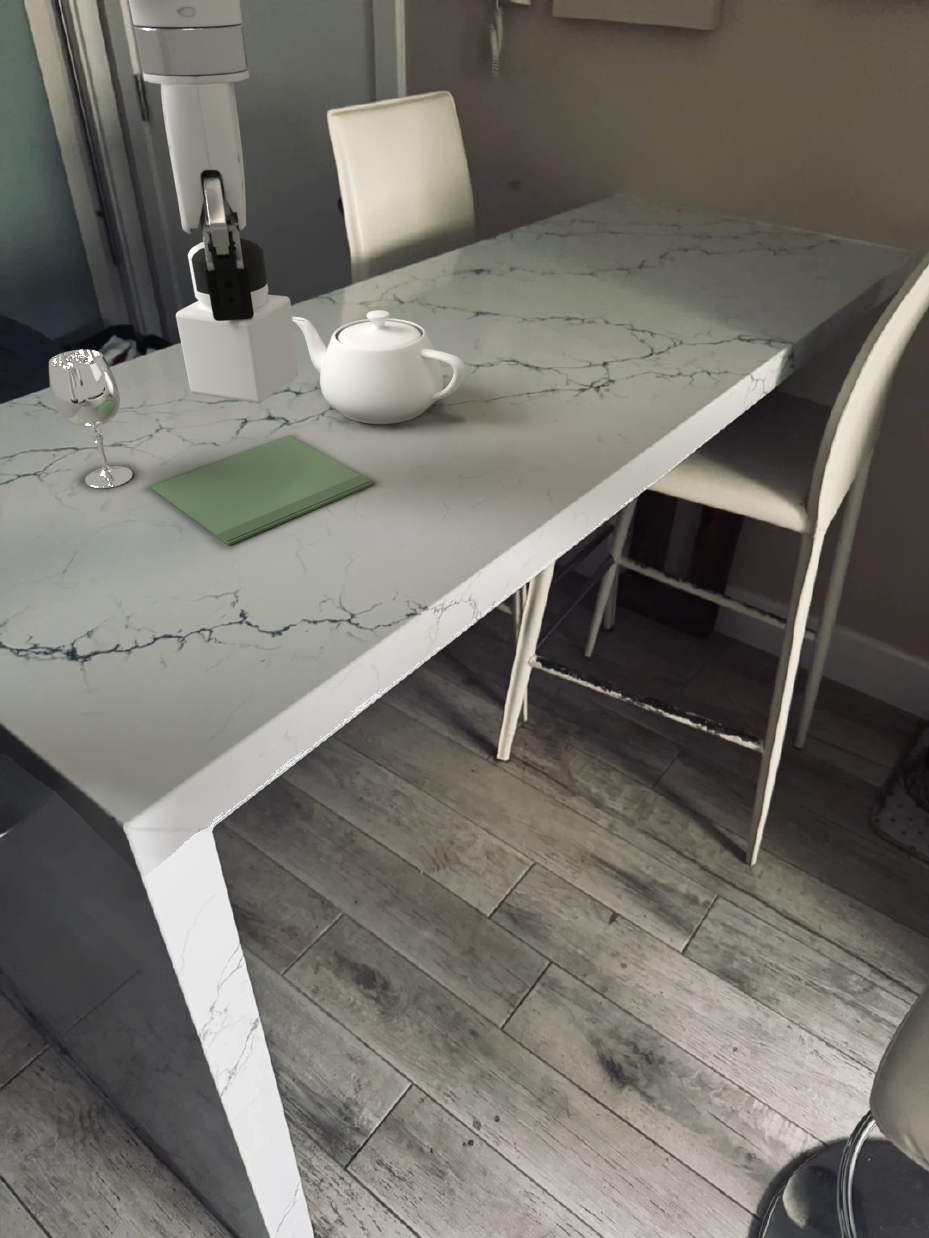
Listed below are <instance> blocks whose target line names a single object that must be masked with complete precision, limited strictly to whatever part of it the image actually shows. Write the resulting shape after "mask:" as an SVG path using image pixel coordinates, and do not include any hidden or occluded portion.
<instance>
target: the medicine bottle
mask: <svg viewBox="0 0 929 1238" xmlns="http://www.w3.org/2000/svg"><path fill="white" fill-rule="evenodd" d="M232 239H233V238H232ZM240 245H241V252H242V259H243V266H246V265H247V270H248V277H249V284H250V291H251V298H252V305H253V312H254V316H253V317H252V318H251V319H240V320H227V321H216V320H215V319H214V317H213V313H212V307H211V301H210V295H209V290H208V284H207V278H206V272H205V268H207V262H206V255H205V249H204V242H203V241H201V242H200V243H198V244H196V245H194V246H193V247H191V249H190V250H189V251H188V253H187V259H188V264H189V269H190V275H191V282H192V287H193V293H194V298H196V299H195V300H197V301H195V302H193V303H191V304H189V305H188V306H186V307H183V308H182V309H180V310H178V311H177V312H176V313H175V319H176V323H177V324H176V325H177V328H178V333H179V339H180V344H181V349H182V355H183V359H184V364H185V370H186V374H187V380H188V384H189V390H190V392H191V393H192V394H196V395H202V396H207V397H208V396H209V397H215V398H220V399H221V398H222V399H228V400H235V401H242V402H248V403H254V404H262V403H264V402H265V401H266V400H268V398H270V397H271V396H272V395H274V394H275V393H277V392H278V391H279V390H280V389H282V388H283V387H284V386H286V385H287V384H288V383H289V382H291V381H292V380H293V379H295V378H296V377H297V376H298V375H299V364H298V355H297V348H296V339H295V338H296V337H295V330H294V322H293V320H292V317H293V313H292V304H291V299H290V298H289V296H285V295H277V294H269V285H268V279H267V271H266V263H265V262H266V261H265V255H264V250H263V248H262V247H261V246H260V245H259V244H258V243H256V242H254V241H251V240H248V239H245V238H240ZM234 251H235V250H234ZM234 254H235V252H234ZM235 259H236V257H235ZM236 266H237V264H236Z"/></svg>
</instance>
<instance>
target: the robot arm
mask: <svg viewBox="0 0 929 1238" xmlns="http://www.w3.org/2000/svg"><path fill="white" fill-rule="evenodd" d="M128 3H129V8H130V13H131V19H132V24H133V25H134V26H133V29H134V33H135V39H136V44H137V50H138V54H139V61H140V65H141V70H142V76H143V81H144V82H146V83H150V84H158V85H159V87H160V97H161V105H162V106H161V107H162V113H163V120H164V121H163V122H164V127H165V133H166V139H167V145H168V151H169V157H170V163H171V169H172V174H173V180H174V185H175V191H176V199H177V203H178V210H179V216H180V221H181V228H182V230H183V231H184V232H185V233H187V234H188V235H192V234H193V229H199V226H200V232H201V235H202V242H204V249H205V255H206V262H207V268H205V272H206V278H207V284H208V290H209V295H210V301H211V307H212V313H213V317H214V319H215V320H216V321H227V320H240V319H251V318H252V317H253V316H254V312H253V305H252V298H251V291H250V284H249V277H248V270H247V265H246V266H243V259H242V252H241V245H240V239H241V235H240V232H241V231H243V229H244V228H246V226H247V203H246V202H247V199H246V198H247V197H246V183H245V182H246V181H245V180H246V179H245V168H244V166H245V165H244V156H243V147H242V138H241V131H240V130H241V129H240V122H239V114H238V107H237V100H236V99H237V98H236V91H235V85H234V83H236V82H242V81H245V80H249V79H250V71H249V64H248V55H247V49H246V42H245V34H244V27H243V18H242V16H243V15H242V9H241V0H128ZM232 238H233V239H232ZM234 250H235V251H234ZM234 252H235V254H234ZM235 257H236V259H235ZM236 264H237V266H236Z"/></svg>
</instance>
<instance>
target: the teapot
mask: <svg viewBox="0 0 929 1238" xmlns="http://www.w3.org/2000/svg"><path fill="white" fill-rule="evenodd" d="M390 316H391V315H390V312H389V311H386V310H380V309H376V310H371V311H368V312H367V313H366V318H365V319H360V320H355V321H351V322H347V323H345V324H343V325H341V326H340V327H339V328H337V329H335V331H334V332H333V333H332V334H331V338H330V340H329V343H328V345H327V346H326V345H325V343H324V342H323V340H322V338H321V336H320V334H319V333H318V330H317V329H316V327H315V326H314V325H313V324H312V322H311V321H310V320H309V319H306V318H304V317H300V316H292V320H293V323H294V324H295V325H297V327H298V328H300V330H301V332H302V334H303V336H304V339H305V342H306V345H307V346H306V347H307V350H308V354H309V358H310V361H311V363H312V365H313V367H314V369H315V370H316V371H317V372H318V373H319V374H320V376H319V385H320V390H321V394H322V396H323V398H324V399H325V400H326V402H327V403H328V404H329V406H331V407H332V408H334V409H335V410H336V411H337V412H339V413H341V414H342V415H343V416H344V417H345V418H348V419H350V420H352V421H356V422H359V423H363V424H371V425H372V424H374V425H389V424H396V423H402V422H406V421H410V420H413V419H414V418H417V417H418V416H420V415H422V414H423V413H424V412H425V411H427V409H428V408H430V407H431V406H432V405H433V404H435V402H437V401H439V400H441V399H444V398H446V397H448V396H449V395H451V394H453V393H454V392H455V391H456V390H457V389H458V388H459V386H461V384H462V382H463V380H464V378H465V371H466V367H465V363H464V362H463V360H462V359H461V358H460V357H458V356H456V355H454V354H451V353H448V352H444V351H440V350H435V347H434V346H433V344H432V342H431V339H430V337H429V335H428V333H427V332H426V330H425V329H424V328H423V327H422V326H421V325H419V324H417V323H416V322H412V321H409V320H404V319H399V318H390ZM441 362H442V363H445V364H447V365H449V366H450V367H451V368H452V370H453V375H452V378H451V380H450V381H449V383H448V385H447V386H445V388H444V372H443V367H442V365H441Z"/></svg>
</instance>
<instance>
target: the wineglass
mask: <svg viewBox="0 0 929 1238" xmlns="http://www.w3.org/2000/svg"><path fill="white" fill-rule="evenodd" d="M48 380H49V388H50V393H51V399H52V402H53V404H54V407H55V409H56V411H57V412H58V414H59V415H60V417H61V418H63V420H65V421H66V422H67V423H69V424H70V425H73V426H77V427H81V428H91V431H90V434H91V438H92V439H93V441H94V443H95V445H96V447H97V449H98V452H99V455H100V459H101V467H100V468H98V469H95V470H93V471H91V472H89V473H88V474H87V475H86V476H85V478H84V483H85V484H86V486H88V487H90V488H94V489H109V488H110V489H111V488H115V487H118V486H122V485H124V484H126V483H127V482H129V481H130V480H131V479H132V478H133V475H134V474H133V471H132V469H130V468H128V467H126V466H121V465H110V464H109V462H108V459H107V456H106V453H105V449H104V448H105V447H104V433H103V431H102V429H101V428H100V426H103V425H105V424H106V423H108V422H110V421H111V420H112V419H114V418H115V417H116V415H117V414H118V412H119V409H120V405H121V396H120V390H119V386H118V384H117V381H116V378H115V376H114V374H113V371H112V369H111V367H110V366H109V364H108V362H107V360H106V358H105V356H104V354H103V353H102V352H100V351H97V350H95V349H76V350H75V349H74V350H70V351H69V350H68V351H65V352H61V353H58V354H57V355H54V356H52V357H51V358H50V359H49V361H48Z"/></svg>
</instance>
